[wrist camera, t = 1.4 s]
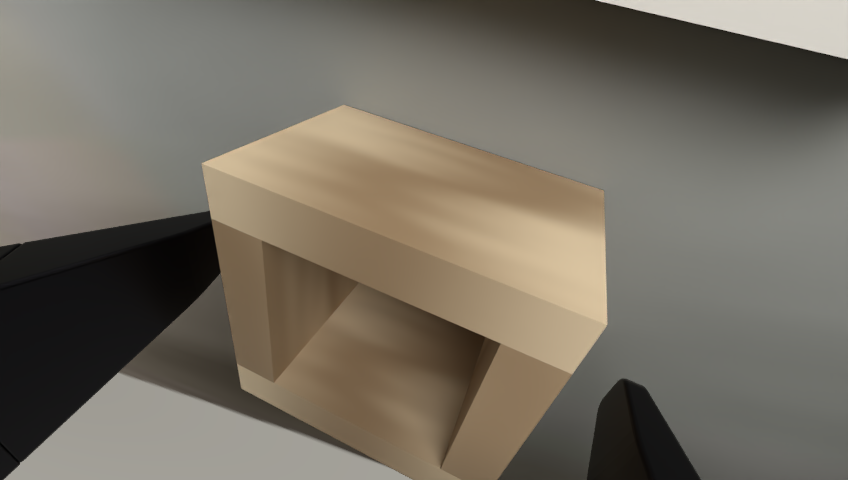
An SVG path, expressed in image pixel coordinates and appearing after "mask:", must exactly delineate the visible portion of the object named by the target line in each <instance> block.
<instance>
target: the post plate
mask: <svg viewBox="0 0 848 480" xmlns="http://www.w3.org/2000/svg"><path fill="white" fill-rule="evenodd" d="M597 1H601V2H605V3H610V4H614V5H618V6H622V7H627V8H631V9H635V10H640V11H644V12H648V13H652V14H657V15H661V16H665V17H670V18H674V19H678V20H682V21H687V22H691V23H695V24H700V25H704V26H708V27H712V28H717V29H721V30H725V31H729V32H734V33H738V34H742V35H747V36H751V37H755V38H759V39H764V40H768V41H772V42H777V43H781V44H785V45H789V46H794V47H798V48H802V49H807V50H811V51H815V52H819V53H824V54H828V55H832V56H837V57H841V58H845V59H848V0H597Z"/></svg>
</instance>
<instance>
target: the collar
mask: <svg viewBox="0 0 848 480" xmlns="http://www.w3.org/2000/svg"><path fill="white" fill-rule="evenodd" d="M202 169H203V174H204V180H205V186H206V191H207V197H208V203H209V208H210V214H211V220H212V225H213V231H214V237H215V242H216V248H217V254H218V259H219V265H220V271H221V276H222V282H223V288H224V293H225V299H226V305H227V310H228V316H229V321H230V327H231V333H232V338H233V344H234V350H235V355H236V361H237V367H238V372H239V378H240V384H241V389H243V390H245V391H247V392H249V393H251V394H253V395H254V396H256V397H258V398H260V399H262V400H264V401H266V402H268V403H270V404H271V405H273V406H275V407H277V408H279V409H281V410H283V411H285V412H287V413H288V414H290V415H292V416H294V417H296V418H298V419H300V420H302V421H303V422H305V423H307V424H309V425H311V426H313V427H315V428H317V429H319V430H320V431H322V432H324V433H326V434H328V435H330V436H332V437H334V438H335V439H337V440H339V441H341V442H343V443H345V444H347V445H349V446H351V447H352V448H354V449H356V450H358V451H360V452H362V453H364V454H366V455H367V456H369V457H371V458H373V459H375V460H377V461H379V462H381V463H383V464H384V465H386V466H388V467H390V468H392V469H394V470H396V471H398V472H400V473H401V474H403V475H405V476H407V477H409V478H411V479H413V480H497V479H498V478H499V477H500V475H501V474H502V472H503V471H504V470H505V468H506V467H507V465H508V464H509V463H510V461H511V460H512V458H513V457H514V456H515V454H516V453H517V451H518V450H519V449H520V447H521V446H522V444H523V443H524V442H525V440H526V439H527V437H528V436H529V434H530V433H531V432H532V430H533V429H534V427H535V426H536V425H537V423H538V422H539V420H540V419H541V418H542V416H543V415H544V413H545V412H546V411H547V409H548V408H549V406H550V405H551V404H552V402H553V401H554V399H555V398H556V397H557V395H558V394H559V392H560V391H561V389H562V388H563V387H564V385H565V384H566V382H567V381H568V380H569V378H570V377H571V375H572V374H573V373H574V371H575V370H576V368H577V367H578V366H579V364H580V363H581V361H582V360H583V359H584V357H585V356H586V354H587V353H588V352H589V350H590V349H591V347H592V346H593V344H594V343H595V342H596V340H597V339H598V337H599V336H600V335H601V333H602V332H603V330H604V329H605V328H606V326H607V295H606V254H605V214H604V191H603V190H600V189H597V188H594V187H591V186H588V185H585V184H582V183H579V182H576V181H573V180H570V179H567V178H564V177H561V176H558V175H555V174H552V173H549V172H546V171H543V170H540V169H537V168H534V167H531V166H528V165H525V164H522V163H519V162H515V161H512V160H509V159H506V158H503V157H500V156H497V155H494V154H491V153H488V152H485V151H482V150H479V149H476V148H473V147H470V146H467V145H464V144H461V143H458V142H455V141H452V140H449V139H446V138H443V137H440V136H437V135H434V134H431V133H428V132H425V131H422V130H419V129H416V128H413V127H410V126H407V125H403V124H400V123H397V122H394V121H391V120H388V119H385V118H382V117H379V116H376V115H373V114H370V113H367V112H364V111H361V110H358V109H355V108H352V107H349V106H346V105H342V106H340V107H337V108H335V109H333V110H330V111H328V112H325V113H323V114H320V115H318V116H315V117H313V118H311V119H308V120H306V121H303V122H301V123H298V124H296V125H294V126H291V127H289V128H286V129H284V130H281V131H279V132H277V133H274V134H272V135H269V136H267V137H264V138H262V139H260V140H257V141H255V142H252V143H250V144H247V145H245V146H242V147H240V148H238V149H235V150H233V151H230V152H228V153H225V154H223V155H221V156H218V157H216V158H213V159H211V160H208V161H206V162H204V163H202Z"/></svg>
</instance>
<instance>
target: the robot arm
mask: <svg viewBox="0 0 848 480" xmlns="http://www.w3.org/2000/svg"><path fill="white" fill-rule="evenodd" d="M220 273H221V271H220V265H219V259H218V254H217V248H216V242H215V237H214V231H213V225H212V220H211V214H210V211H207V212H201V213H195V214H189V215H183V216H178V217H172V218H166V219H160V220H154V221H148V222H142V223H137V224H131V225H125V226H119V227H113V228H107V229H101V230H95V231H90V232H84V233H78V234H72V235H66V236H60V237H54V238H48V239H43V240H37V241H31V242H25V243H23V244H13V245H7V246H1V247H0V480H4V479H5V478H6V477H7V476H8V475H9V474H10V473H11V472H12V471H13V470H14V469H15V468H17V467H18V466H19V465H20V462H22V461H24V460H25V459H26V458H27V457H28V456H29V455H30V454H31V453H32V452H33V451H34V450H35V449H37V448H38V446H40V445H41V444H42V443H43V442H44V441H45V440H46V439H47V438H48V437H49V436H50V435H52V434H53V433H54V432H55V431H56V430H57V429H58V428H59V427H60V426H61V425H62V424H63V423H64V422H66V421H67V420H68V419H69V418H70V417H71V416H72V415H73V414H74V413H75V412H76V411H77V410H78V409H79V408H81V407H82V406H83V405H84V404H85V403H86V402H87V401H88V400H89V399H90V398H91V397H92V396H93V395H95V394H96V393H97V392H98V391H99V390H100V389H101V388H102V387H103V386H104V385H105V384H106V383H107V382H108V381H109V380H111V379H112V378H113V377H114V376H115V375H116V374H117V373H118V372H119V371H120V370H121V369H122V368H124V367H125V366H126V365H127V364H128V363H129V362H130V361H131V360H132V359H133V358H134V357H135V356H136V355H137V354H139V353H140V352H141V351H142V350H143V349H144V348H145V347H146V346H147V345H148V344H149V343H150V342H151V341H153V340H154V339H155V338H156V337H157V336H158V335H159V334H160V333H161V332H162V331H163V330H164V329H165V328H166V327H168V326H169V325H170V324H171V323H172V322H173V321H174V320H175V319H176V318H177V317H178V316H179V315H180V314H182V313H183V312H184V311H185V310H186V309H187V308H188V307H189V306H190V305H191V304H192V303H193V302H194V301H195V300H196V299H197V298H198V297H199V296H200V295H201V294H202V293H203V292H204V291H205V290H206V289H207V288H208V286H209V285H210V284H211V283H212V282H213V281H214V280H215V278H216V277H217V276H218V275H219V274H220ZM587 480H701V479H700V477H699V476H698V474H697V472H696V471H695V469H694V467H693V466H692V464H691V462H690V461H689V459H688V457H687V456H686V454H685V452H684V451H683V449H682V447H681V446H680V444H679V442H678V441H677V439H676V437H675V436H674V434H673V432H672V431H671V429H670V427H669V426H668V424H667V422H666V421H665V419H664V417H663V416H662V414H661V412H660V411H659V409H658V407H657V406H656V404H655V402H654V401H653V399H652V397H651V396H650V394H649V392H648V391H647V390H646V388H645V387H643V386H642V385H639V384H637V383H635V382H632V381H630V380H628V379H620V380H619V381H618V382H617V383H616V384H615V385H614V386H613V387H612V389H611V390H610V391H609V392H608V393H607V395H606V396H605V397H604V398H603V399H602V401H601V403H600V405H599V408H598V412H597V419H596V425H595V431H594V437H593V444H592V450H591V456H590V463H589V469H588V476H587Z"/></svg>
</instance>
